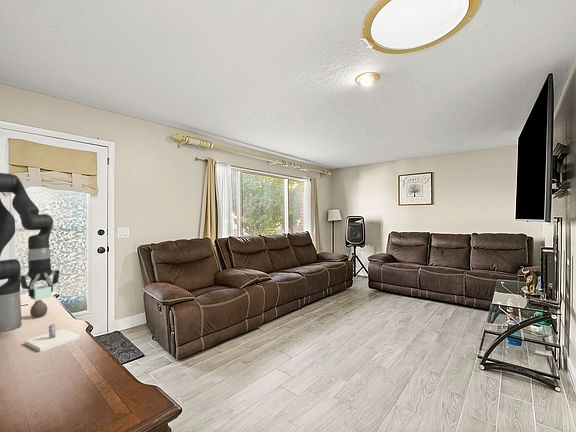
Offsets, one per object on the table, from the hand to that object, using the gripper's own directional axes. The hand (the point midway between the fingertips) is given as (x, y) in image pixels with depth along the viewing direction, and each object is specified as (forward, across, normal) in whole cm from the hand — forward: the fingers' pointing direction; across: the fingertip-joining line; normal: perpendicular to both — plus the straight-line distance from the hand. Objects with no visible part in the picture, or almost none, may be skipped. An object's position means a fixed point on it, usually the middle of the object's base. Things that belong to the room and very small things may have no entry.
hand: (41, 295), depth 125 cm
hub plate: (+17, +2, +15) cm, 23 cm away
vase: (+18, -9, -34) cm, 39 cm away
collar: (+1, 0, 0) cm, 1 cm away
